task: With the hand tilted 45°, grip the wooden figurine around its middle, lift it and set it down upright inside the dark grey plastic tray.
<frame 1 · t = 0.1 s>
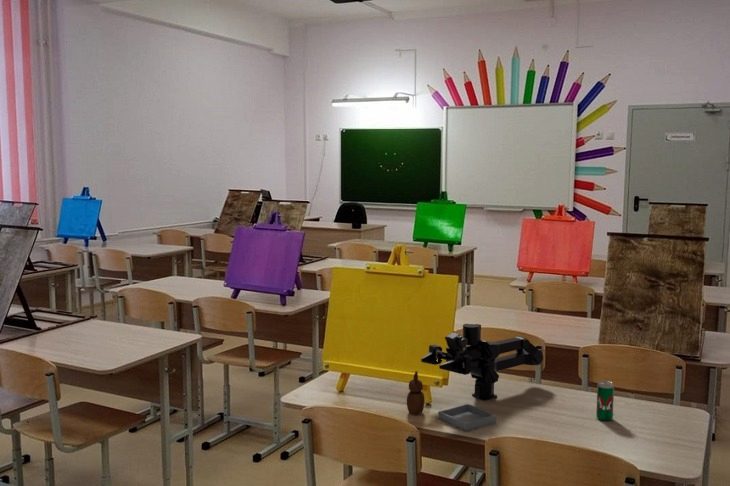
hand: (430, 363, 223), 17 cm above the table, tool horizontal, fingers open, 9 cm apart
wooden figurine: (415, 413, 224), on the table
soda can: (604, 419, 218), on the table
tray: (466, 420, 217), on the table
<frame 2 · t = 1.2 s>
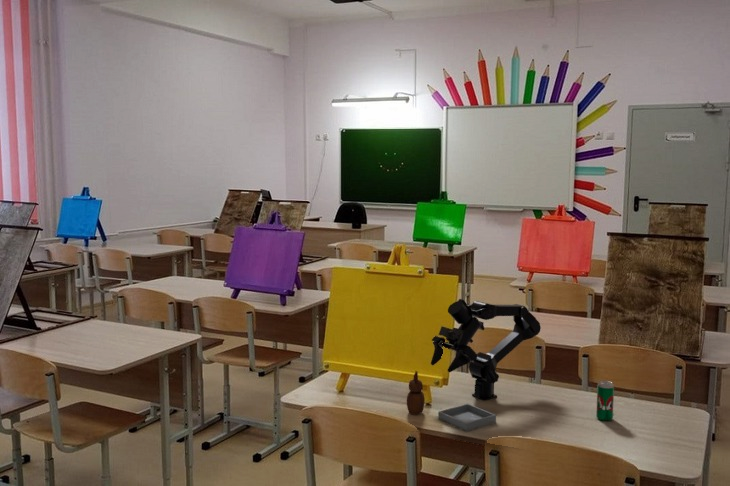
hand: (439, 368, 227), 14 cm above the table, tool tilted 45°, fingers open, 9 cm apart
nothing on the table moved.
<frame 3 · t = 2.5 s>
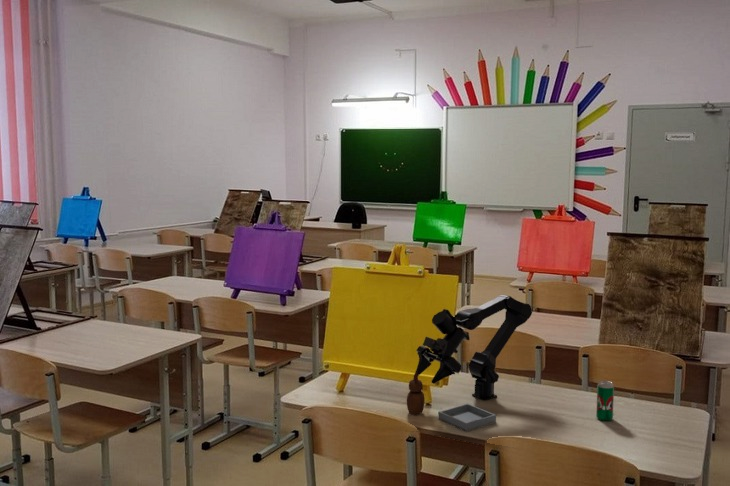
hand: (424, 379, 224), 11 cm above the table, tool tilted 45°, fingers open, 9 cm apart
nothing on the table moved.
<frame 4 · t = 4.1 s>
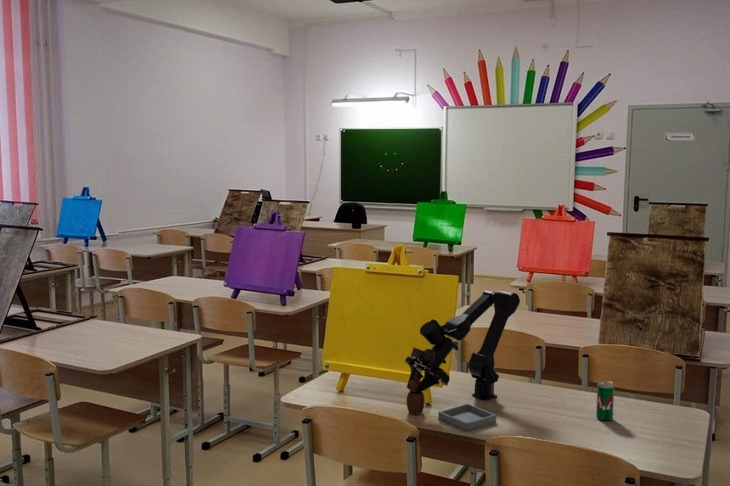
hand: (412, 390, 222), 8 cm above the table, tool tilted 45°, fingers closed on wooden figurine, 5 cm apart
wooden figurine: (415, 413, 224), on the table, touching gripper
everything else where it was.
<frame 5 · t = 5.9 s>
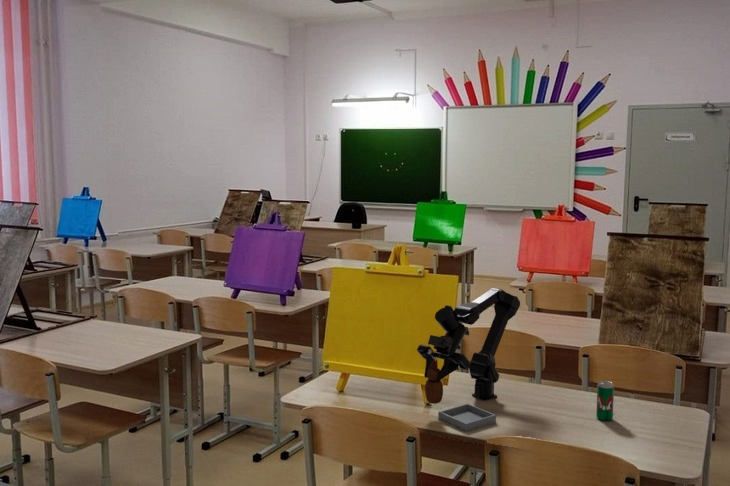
hand: (431, 378, 218), 13 cm above the table, tool tilted 45°, fingers closed on wooden figurine, 5 cm apart
wooden figurine: (433, 402, 220), point 5 cm above the table, touching gripper
everything else where it was.
when the fingers open (9 cm above the table, at t = 8.0 s): wooden figurine stays where it is, resting on tray.
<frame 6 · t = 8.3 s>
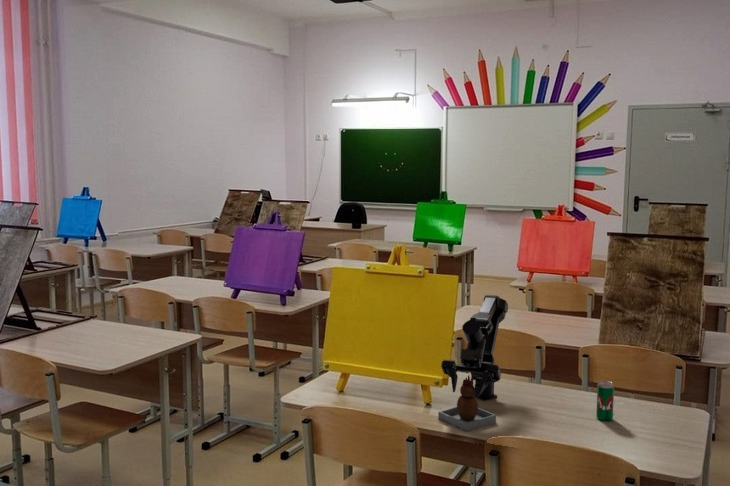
hand: (466, 393, 215), 10 cm above the table, tool tilted 45°, fingers open, 8 cm apart
wooden figurine: (467, 419, 217), resting on tray
everything else where it was.
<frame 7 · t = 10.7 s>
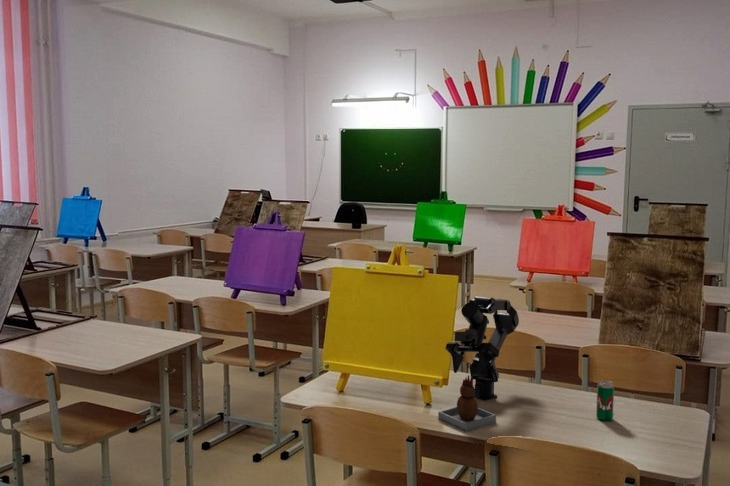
hand: (465, 373, 224), 13 cm above the table, tool tilted 35°, fingers open, 9 cm apart
nothing on the table moved.
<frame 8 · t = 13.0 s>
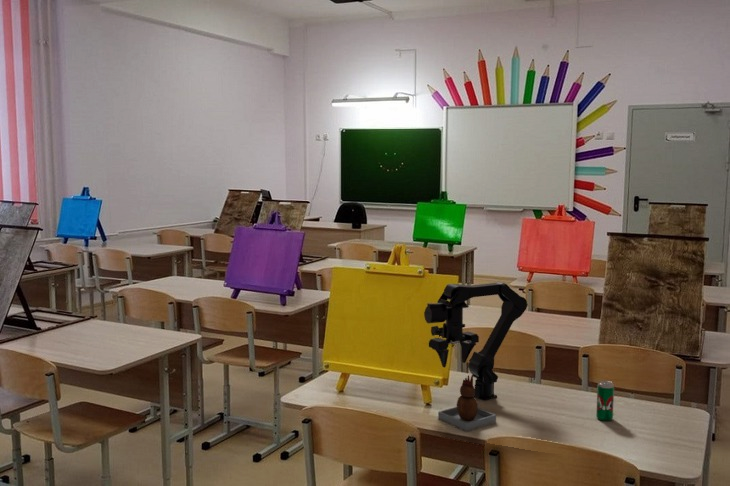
hand: (453, 364, 234), 13 cm above the table, tool pointing down, fingers open, 9 cm apart
nothing on the table moved.
at the end: wooden figurine inside the target area on the tray (0.2 cm from its centre), point 0.4 cm above the tray's base; wooden figurine tilted 0°; the gripper is holding nothing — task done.
